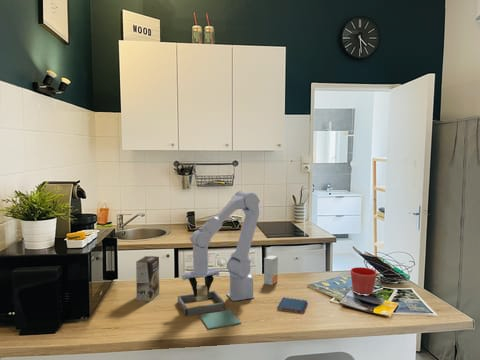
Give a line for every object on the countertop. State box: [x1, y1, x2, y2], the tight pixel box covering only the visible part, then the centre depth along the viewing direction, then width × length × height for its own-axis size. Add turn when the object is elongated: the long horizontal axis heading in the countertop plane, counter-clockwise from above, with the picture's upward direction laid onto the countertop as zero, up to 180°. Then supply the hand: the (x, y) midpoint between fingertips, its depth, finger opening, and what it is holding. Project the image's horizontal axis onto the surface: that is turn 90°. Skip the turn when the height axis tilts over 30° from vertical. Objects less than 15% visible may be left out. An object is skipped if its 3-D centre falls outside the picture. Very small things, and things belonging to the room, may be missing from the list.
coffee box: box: [135, 255, 160, 302], centre depth 154 cm, size 9×6×16 cm
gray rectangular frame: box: [177, 290, 226, 317], centre depth 145 cm, size 16×14×2 cm
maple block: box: [195, 283, 208, 302], centre depth 145 cm, size 4×4×5 cm
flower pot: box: [350, 266, 377, 295], centre depth 158 cm, size 11×11×10 cm
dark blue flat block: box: [276, 297, 309, 314], centre depth 144 cm, size 10×11×2 cm
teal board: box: [199, 309, 242, 330], centre depth 133 cm, size 12×11×1 cm
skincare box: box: [263, 255, 279, 286], centre depth 171 cm, size 6×4×12 cm
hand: (201, 295), depth 145 cm, fingers closed on maple block, 4 cm apart
